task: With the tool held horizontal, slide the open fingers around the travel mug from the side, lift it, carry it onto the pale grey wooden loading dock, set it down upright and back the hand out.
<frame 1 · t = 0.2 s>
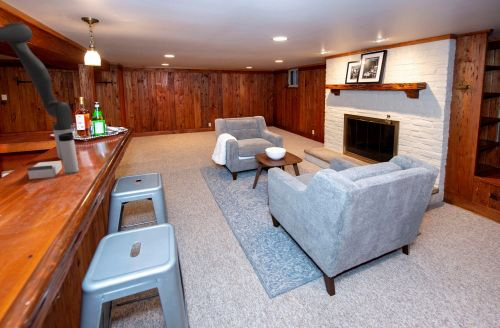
travel mug: (72, 172, 150), on the worktop
dock: (46, 173, 149), on the worktop
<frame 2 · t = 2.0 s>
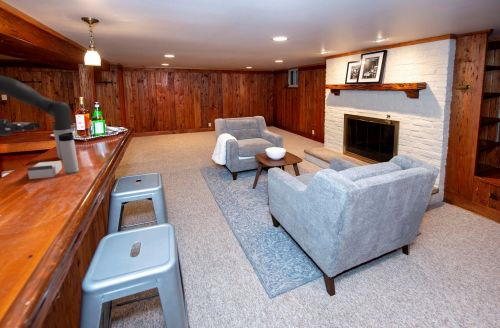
hand: (37, 126, 140), 24 cm above the worktop, tool horizontal, fingers open, 8 cm apart
nothing on the worktop moved.
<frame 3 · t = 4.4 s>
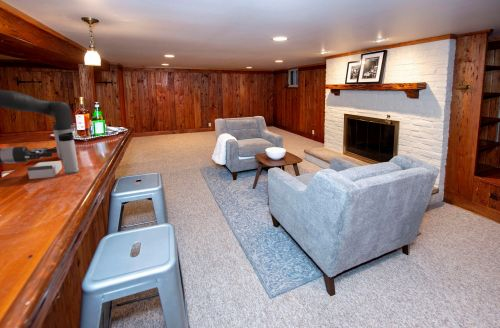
hand: (54, 152, 145), 11 cm above the worktop, tool horizontal, fingers open, 8 cm apart
nothing on the worktop moved.
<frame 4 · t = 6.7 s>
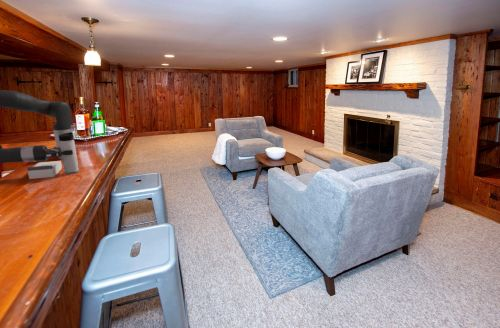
hand: (74, 150, 148), 11 cm above the worktop, tool horizontal, fingers closed on travel mug, 6 cm apart
travel mug: (72, 172, 150), on the worktop, touching gripper
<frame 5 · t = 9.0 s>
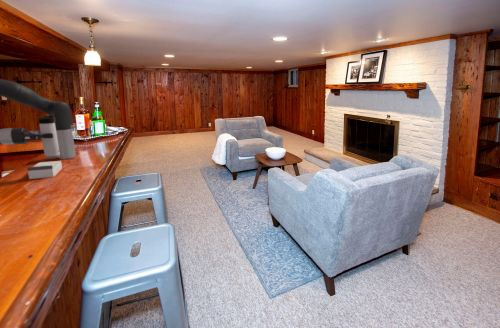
hand: (54, 134, 144), 20 cm above the worktop, tool horizontal, fingers closed on travel mug, 6 cm apart
travel mug: (53, 157, 146), point 8 cm above the worktop, touching gripper
when the fingers open (16 cm above the worktop, at t = 11.3 s): travel mug stays where it is, resting on dock.
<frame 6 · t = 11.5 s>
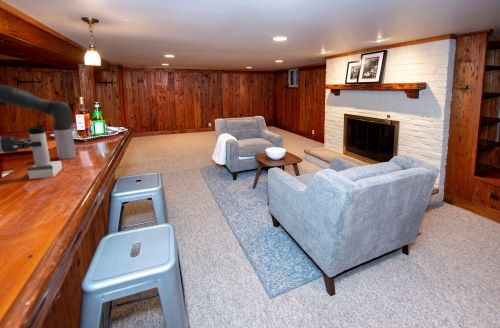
hand: (44, 142, 144), 16 cm above the worktop, tool horizontal, fingers open, 8 cm apart
travel mug: (43, 166, 146), point 4 cm above the worktop, touching dock
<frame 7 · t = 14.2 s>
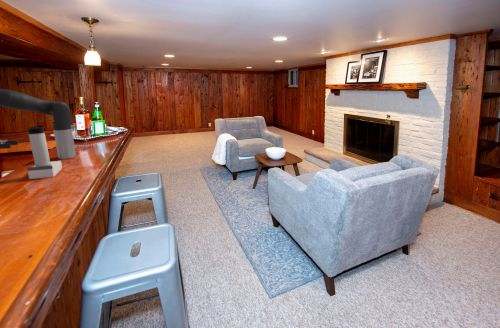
hand: (14, 144, 140), 16 cm above the worktop, tool horizontal, fingers open, 8 cm apart
nothing on the worktop moved.
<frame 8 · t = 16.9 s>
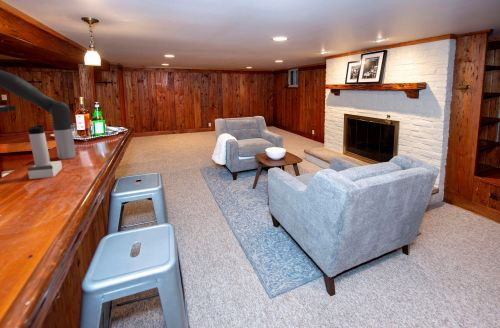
hand: (12, 108, 141), 32 cm above the worktop, tool horizontal, fingers open, 8 cm apart
nothing on the worktop moved.
at the end: travel mug inside the target area on the dock (2.4 cm from its centre), point 3.8 cm above the dock's base; travel mug tilted 0°; the gripper is holding nothing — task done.
